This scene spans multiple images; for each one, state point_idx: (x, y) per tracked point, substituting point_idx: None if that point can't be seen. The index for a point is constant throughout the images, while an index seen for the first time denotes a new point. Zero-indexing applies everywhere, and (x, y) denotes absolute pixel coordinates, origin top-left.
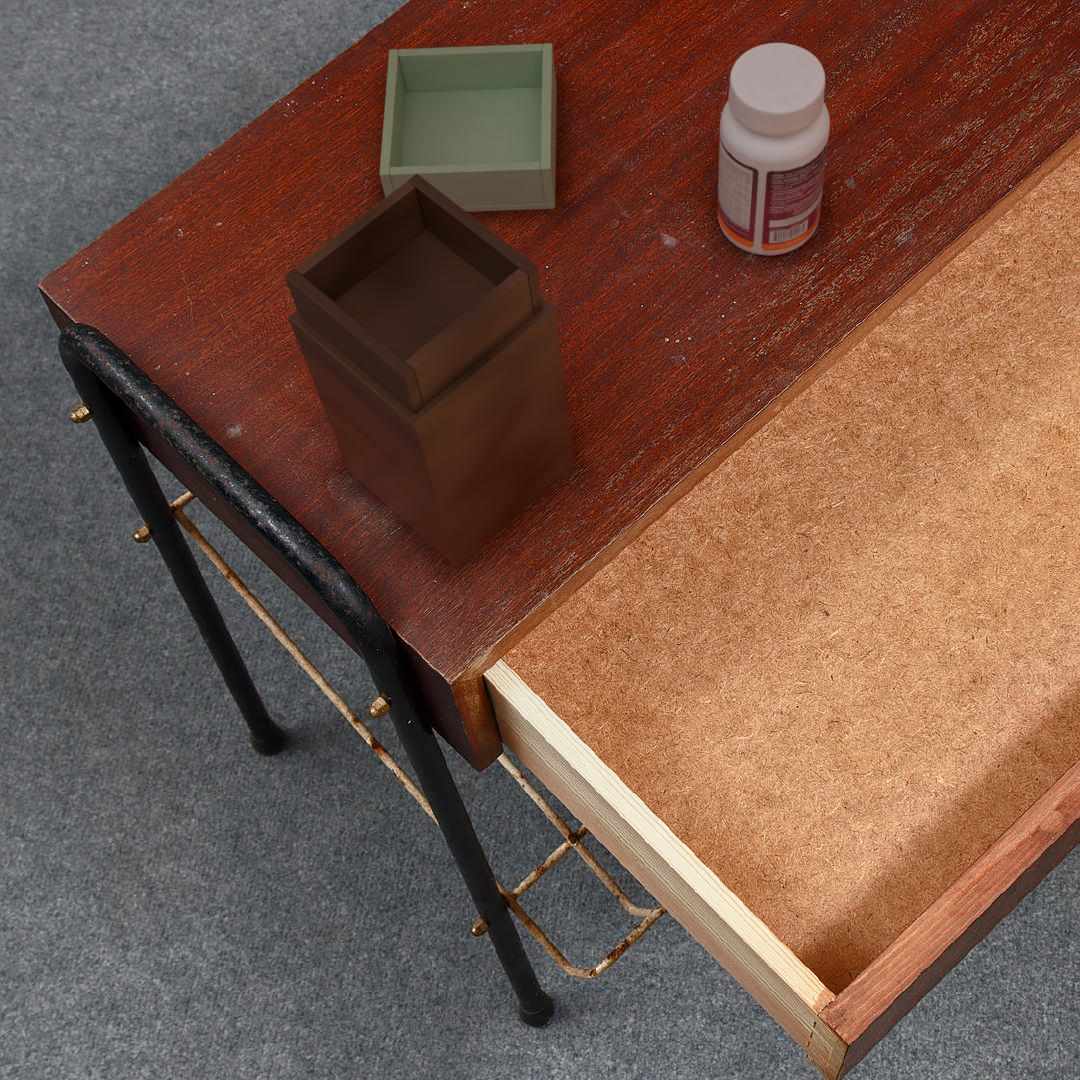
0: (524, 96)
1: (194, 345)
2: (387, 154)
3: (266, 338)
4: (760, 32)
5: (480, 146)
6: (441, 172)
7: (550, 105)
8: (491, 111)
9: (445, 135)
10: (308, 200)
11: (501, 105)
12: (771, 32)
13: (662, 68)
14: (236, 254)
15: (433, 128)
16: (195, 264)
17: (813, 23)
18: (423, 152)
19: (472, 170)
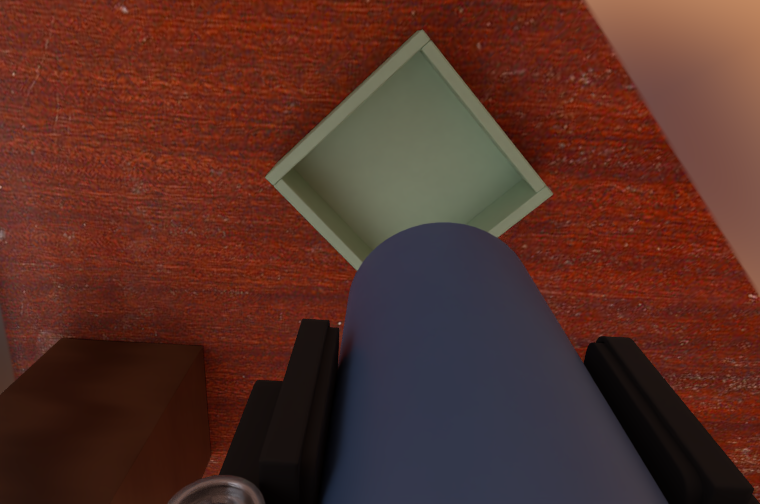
0: (495, 169)
1: (12, 124)
2: (292, 162)
3: (79, 177)
4: (716, 293)
5: (408, 180)
6: (317, 229)
7: None
8: (455, 154)
9: (395, 137)
10: (225, 71)
11: (469, 157)
12: (722, 302)
13: (619, 249)
14: (115, 63)
15: (394, 118)
16: (68, 35)
17: (753, 325)
18: (359, 136)
19: (342, 254)
